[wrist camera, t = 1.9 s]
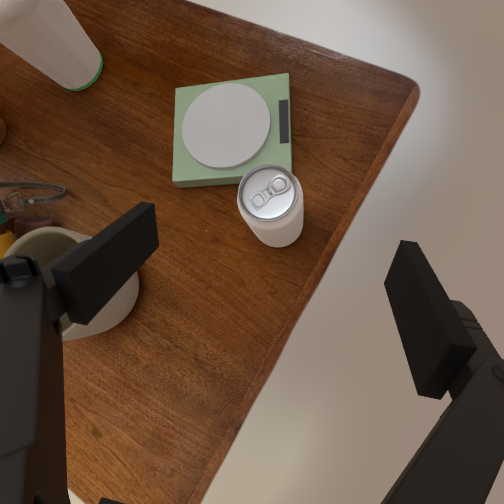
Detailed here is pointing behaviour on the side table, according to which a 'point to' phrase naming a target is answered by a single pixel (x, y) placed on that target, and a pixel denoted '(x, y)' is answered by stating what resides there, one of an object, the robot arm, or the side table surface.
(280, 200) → the can
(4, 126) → the disposable coffee cup
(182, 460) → the side table surface
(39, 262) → the planter
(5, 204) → the binoculars
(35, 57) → the cup
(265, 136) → the scale
